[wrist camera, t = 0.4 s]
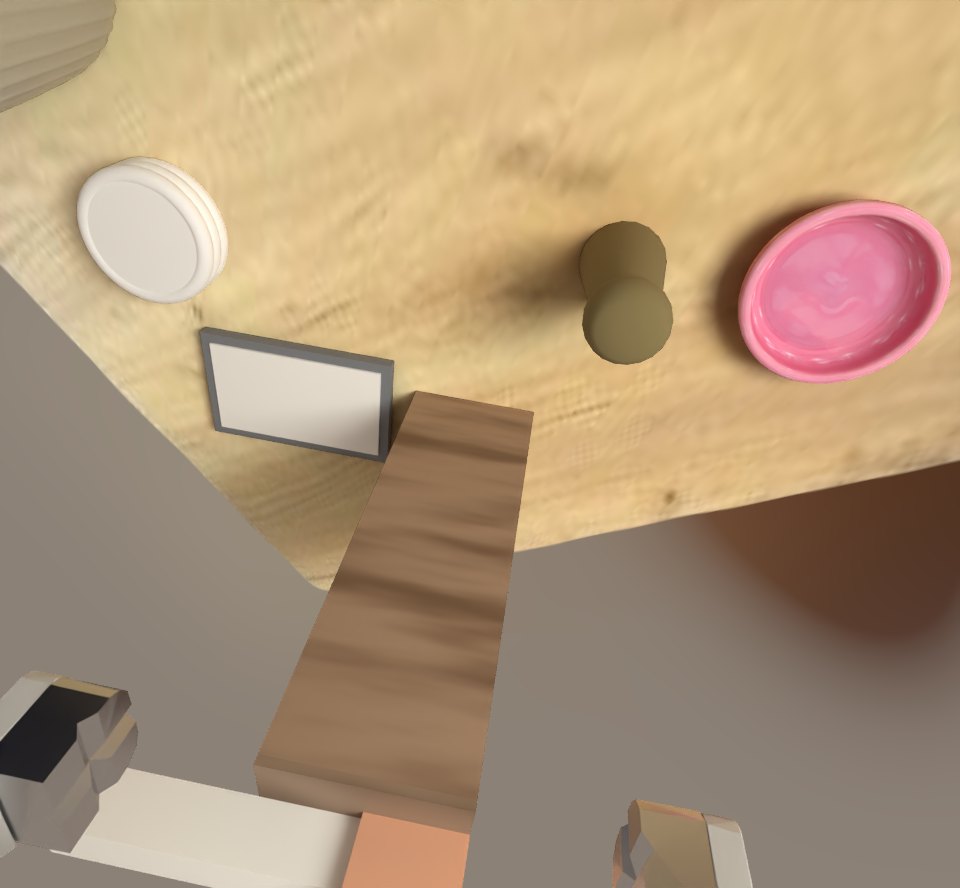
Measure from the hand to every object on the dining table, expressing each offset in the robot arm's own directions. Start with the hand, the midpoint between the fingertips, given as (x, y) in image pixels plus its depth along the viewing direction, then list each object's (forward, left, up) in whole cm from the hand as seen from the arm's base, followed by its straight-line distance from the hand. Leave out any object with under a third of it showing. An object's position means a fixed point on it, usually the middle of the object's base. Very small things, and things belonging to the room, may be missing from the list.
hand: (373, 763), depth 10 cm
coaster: (+9, -27, -41) cm, 50 cm away
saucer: (+5, +21, -41) cm, 46 cm away
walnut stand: (+24, -2, -40) cm, 47 cm away
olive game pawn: (+6, +7, -40) cm, 41 cm away
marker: (+24, -8, -8) cm, 26 cm away
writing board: (+22, -17, -40) cm, 49 cm away
